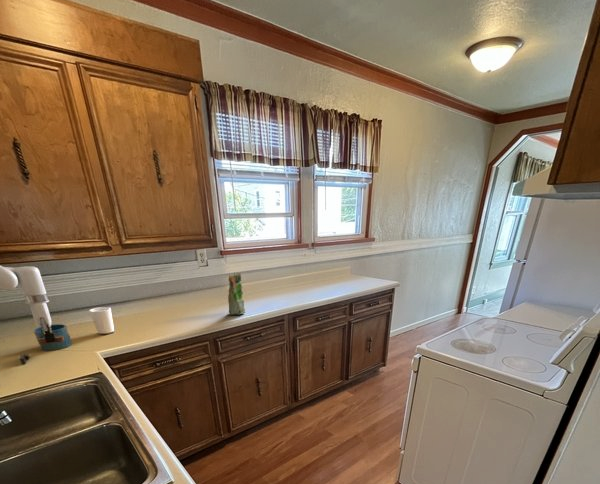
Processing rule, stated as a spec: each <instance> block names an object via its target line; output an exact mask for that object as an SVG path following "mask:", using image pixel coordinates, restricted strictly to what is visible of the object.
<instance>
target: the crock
mask: <svg viewBox="0 0 600 484" xmlns="http://www.w3.org/2000/svg"><path fill="white" fill-rule="evenodd" d="M51 328H52V332H53V333H54V336H55V337H57V336H63V338H64V340H65V341H63V342H56V343H50V344H45V345H40V343H39V340H38V339H41V338H45V337H44V333H43V330H42V327H41V326H40V327H39V328H37V327H36V328H34V330H33V333H34V336H35V338H36V341H37V343H38V345H39V348H40V351H43V350H44V351H43V352H55V351H59V350H64V349H67V348H69V347H71V346H72V344H73V343H72V339H71V336H70V332H69V330H68V328H67V325H66V324H63V323H56V324H51Z"/></svg>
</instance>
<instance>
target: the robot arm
mask: <svg viewBox="0 0 600 484" xmlns="http://www.w3.org/2000/svg"><path fill="white" fill-rule="evenodd" d="M18 286H20V290H21V292H22V295H23V297H24V300H25V303H26V304H27V305H29V306H30V311H31V315H32V318H33V320H34V325H35V327H36V328H39V327H42V330H43V333H44V337H45V340H46V342H47V343H51V342H55V338H54V333H53V332H52V328H51V325H53V324H52V317H51V314H50V310H49V307H48V304H47V303H49V302H50V300H49V297H48V294H47V293H48V292H47V291H46V287H45V284H44V281H43V278H42V274H41V272H40V269H39V268H38V267H36V266H31V265H30V266H29V265H28V266H27V265H26V266H18V267H13V266H12V267H11V266H2V265H0V290H3V291H12V290H14V289H15V288H17V287H18Z"/></svg>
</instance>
